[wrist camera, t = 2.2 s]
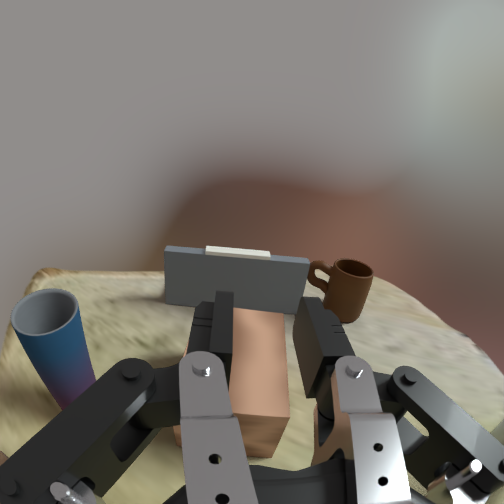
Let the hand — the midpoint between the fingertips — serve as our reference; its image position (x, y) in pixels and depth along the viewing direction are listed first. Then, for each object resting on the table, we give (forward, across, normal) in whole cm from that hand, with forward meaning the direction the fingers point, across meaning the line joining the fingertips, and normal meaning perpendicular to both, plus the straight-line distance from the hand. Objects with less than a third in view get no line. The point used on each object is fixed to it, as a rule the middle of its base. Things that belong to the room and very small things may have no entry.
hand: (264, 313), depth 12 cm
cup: (+6, +17, +22) cm, 29 cm away
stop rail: (+34, 0, +22) cm, 40 cm away
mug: (+32, -18, +22) cm, 43 cm away
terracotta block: (+11, 0, +22) cm, 25 cm away
